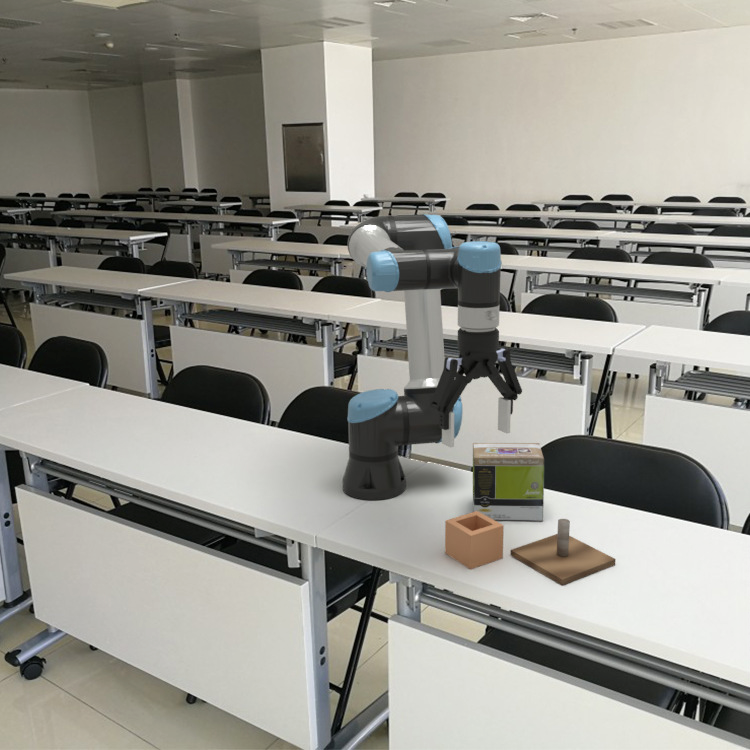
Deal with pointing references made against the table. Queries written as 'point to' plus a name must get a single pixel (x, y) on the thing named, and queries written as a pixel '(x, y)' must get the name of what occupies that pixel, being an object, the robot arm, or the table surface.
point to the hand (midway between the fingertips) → (476, 438)
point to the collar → (474, 539)
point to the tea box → (508, 480)
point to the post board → (562, 556)
